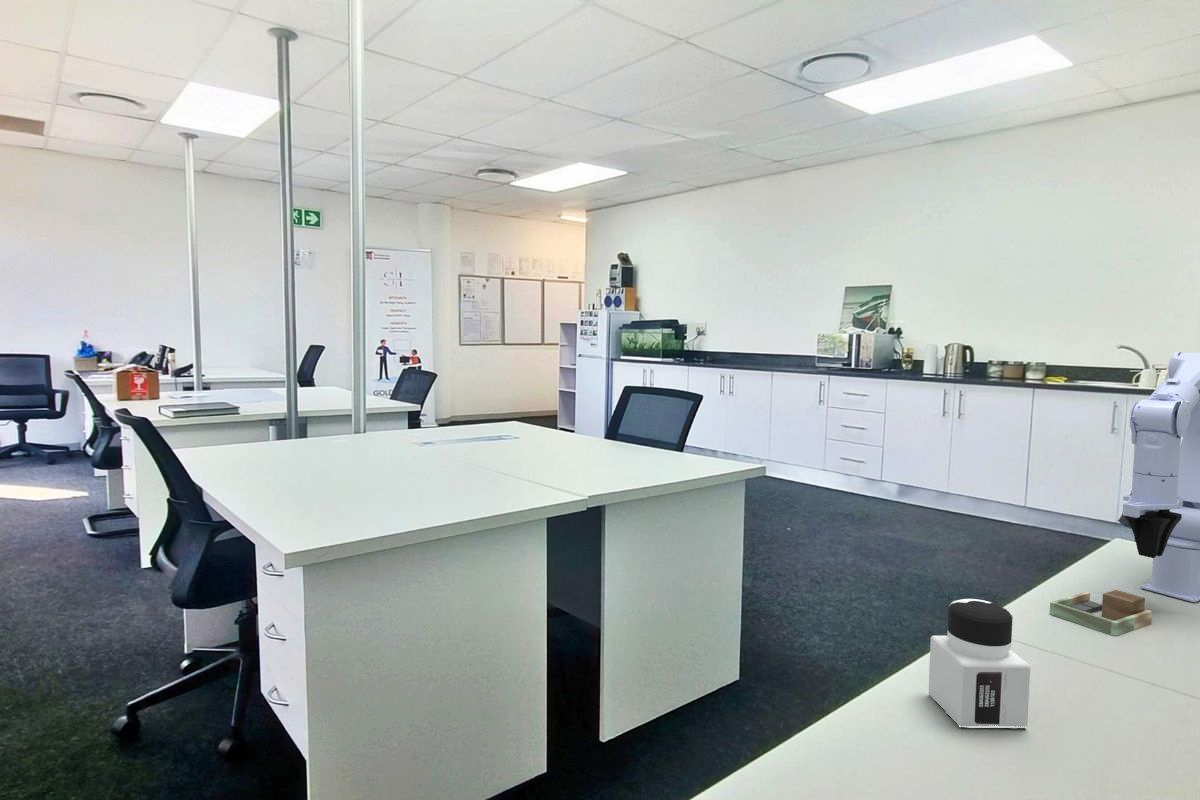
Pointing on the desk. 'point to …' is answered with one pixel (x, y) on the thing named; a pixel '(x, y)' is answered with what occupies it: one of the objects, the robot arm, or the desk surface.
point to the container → (979, 667)
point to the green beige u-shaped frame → (1096, 622)
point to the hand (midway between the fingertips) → (1150, 555)
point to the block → (1121, 605)
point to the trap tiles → (1088, 607)
